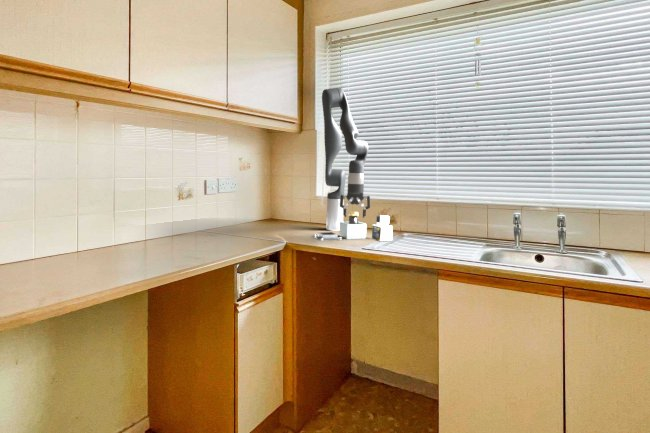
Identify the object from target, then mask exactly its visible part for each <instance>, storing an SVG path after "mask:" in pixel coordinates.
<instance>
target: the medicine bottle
mask: <svg viewBox="0 0 650 433" xmlns="http://www.w3.org/2000/svg"><path fill="white" fill-rule="evenodd" d="M389 224H390V216H389V215H386V214H379V215H376V224H372V225H371V226H372V228H371V230H372V231H371V239H372V240H375V241H377V242H392V241H393V231H394V230H393V229H394V228H393V225H389Z"/></svg>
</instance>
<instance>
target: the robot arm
mask: <svg viewBox="0 0 650 433" xmlns="http://www.w3.org/2000/svg"><path fill="white" fill-rule="evenodd" d="M321 104H322V112H323V126H324V128H323V129H324V150H325V151H324V153H325V154H324V155H325V166H324V167H325V168H324V169H325V173H324V174H325V176H324V178H325V179H324V181H325V185H326V186H327V187H338V188H337V189H335V190H334V191H332V192H331V191H330V192H328V193H327V196H326V197H327V198H326V225H325V227H326V228H325V230H326V231H330V232H333V231H334V232H335V231H336V232H338V231H340V222H344V217H345V218H347V215H348V214H347V210H348V209H347V207H349V205H360V206H361V207H362V218H363V219H364V218H365V217H366V216H367V210H370V208H371V196H370V195H364V190H365V185H364V184H365V174H364V172H365V164H366V159H367V156H368V153H369V144H368V142H367V141H365V140H363V139H357V138H358V137H359V130H358V128H357V126H356V124H355V122H354V120H353V117H352V116H353V115H352V113H351V110H350V105H349V103H348V99H347V95H346V93H345V91H344V89H343V88H341V87H335V88H327V89H326V88H325V89H323V91H322V93H321ZM335 108H340V109H341V117H340V118H339V125H338V124H337V123H336V121H335V119H334V118H333V113H332V109H335ZM343 138H344V146H345V151H346V152H347V153H348V155H351V156H356V157H355V158H354V159H353V160H350V161H349V163H348V177H347V193H346V194H347V195H346V194H345V189H346V188H345V186H346V171H345V170H344V169H337V168H336V169H334V168H332V166H333V163H334V161H335V159H336V157H337V156H338V155H339V153H340V151H341V150H342V147H343ZM345 199H346V200H347V202H346V204H345ZM364 199H365V201H366V203H367V205H365V204H364V202H363V201H364Z"/></svg>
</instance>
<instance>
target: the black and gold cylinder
mask: <svg viewBox="0 0 650 433" xmlns="http://www.w3.org/2000/svg"><path fill="white" fill-rule="evenodd" d="M347 216H348V218H349V219H348V222H349V224H357V222H358V219H359V218H358V217H359V211H348V214H347Z"/></svg>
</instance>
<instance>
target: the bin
mask: <svg viewBox="0 0 650 433" xmlns="http://www.w3.org/2000/svg"><path fill="white" fill-rule="evenodd" d="M367 230H368V225H367V223H365V222H361V221H357V224H349V221H343V222H340V231H339V234H338V235H339V236H338V237H340V238H342V239H346V240H358V239H359V240H361V239H367Z"/></svg>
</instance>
